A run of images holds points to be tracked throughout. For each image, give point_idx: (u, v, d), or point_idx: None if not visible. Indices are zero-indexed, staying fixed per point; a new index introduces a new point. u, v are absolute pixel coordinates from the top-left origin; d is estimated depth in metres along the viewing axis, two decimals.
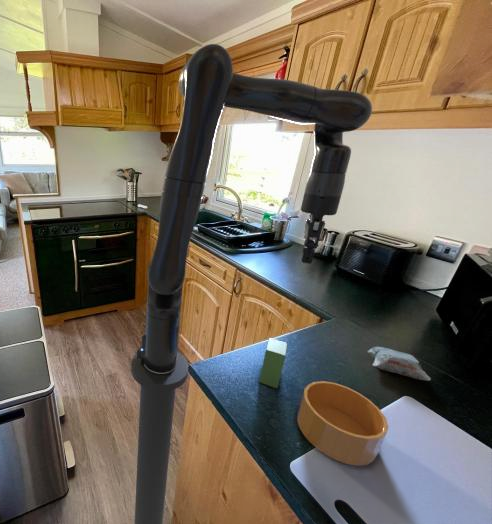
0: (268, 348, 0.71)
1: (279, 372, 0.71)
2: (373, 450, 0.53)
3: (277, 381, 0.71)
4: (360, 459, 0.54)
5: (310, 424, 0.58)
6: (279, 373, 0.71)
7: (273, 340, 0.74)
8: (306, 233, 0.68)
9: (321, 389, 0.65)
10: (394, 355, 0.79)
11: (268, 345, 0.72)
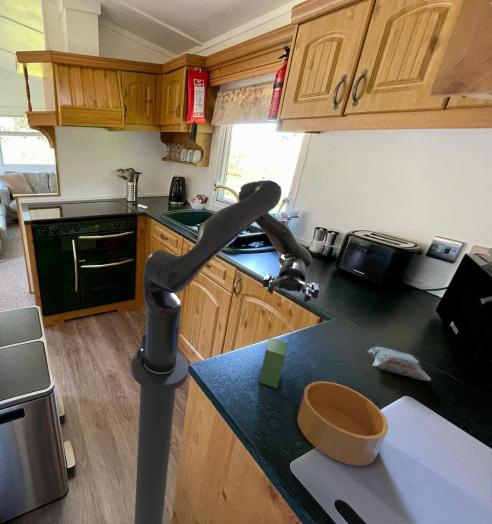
0: (268, 348, 0.71)
1: (279, 372, 0.71)
2: (373, 450, 0.53)
3: (277, 381, 0.71)
4: (360, 459, 0.54)
5: (310, 424, 0.58)
6: (279, 373, 0.71)
7: (273, 340, 0.74)
8: None
9: (321, 389, 0.65)
10: (394, 355, 0.79)
11: (268, 345, 0.72)
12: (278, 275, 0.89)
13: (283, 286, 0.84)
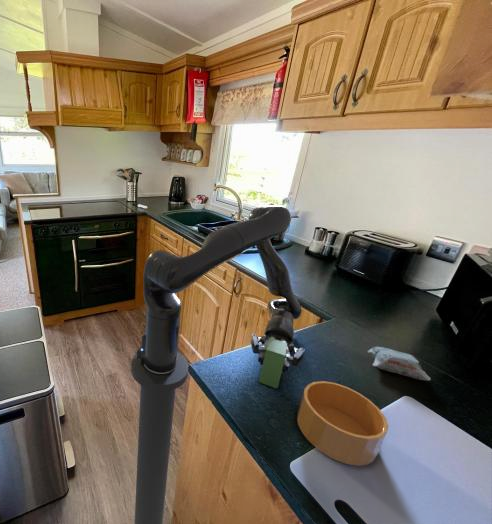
0: (268, 348, 0.71)
1: (279, 372, 0.71)
2: (373, 450, 0.53)
3: (277, 381, 0.71)
4: (360, 459, 0.54)
5: (310, 424, 0.58)
6: (279, 373, 0.71)
7: (273, 340, 0.74)
8: None
9: (321, 389, 0.65)
10: (394, 355, 0.79)
11: (268, 345, 0.72)
12: (264, 333, 0.83)
13: None
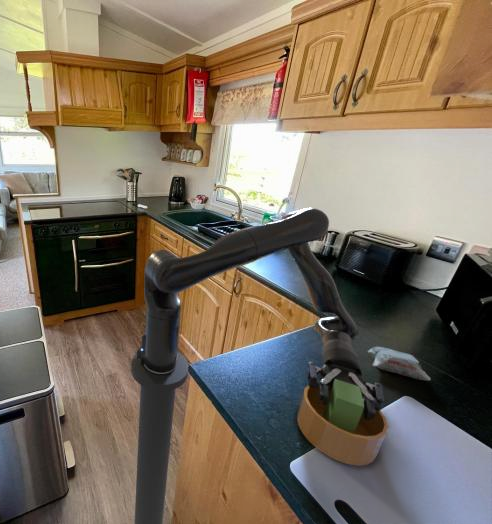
0: (339, 395, 0.56)
1: (353, 426, 0.56)
2: (373, 450, 0.53)
3: None
4: (360, 459, 0.54)
5: (310, 424, 0.58)
6: (353, 427, 0.56)
7: (341, 383, 0.60)
8: None
9: None
10: (394, 355, 0.79)
11: (337, 391, 0.57)
12: (323, 363, 0.68)
13: None
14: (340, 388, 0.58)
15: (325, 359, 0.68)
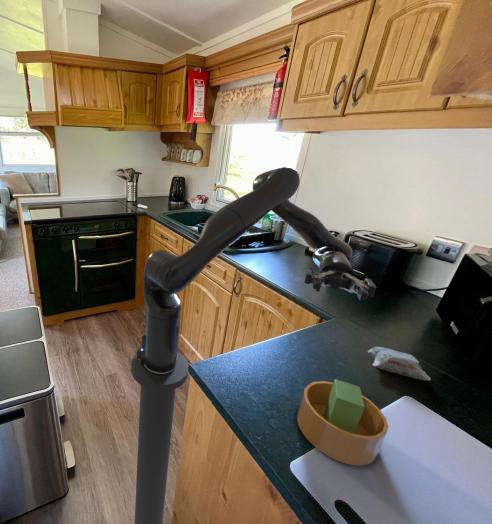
0: (339, 395, 0.56)
1: (353, 426, 0.56)
2: (373, 450, 0.53)
3: None
4: (360, 459, 0.54)
5: (310, 424, 0.58)
6: (353, 427, 0.56)
7: (341, 383, 0.60)
8: None
9: (321, 389, 0.65)
10: (394, 355, 0.79)
11: (338, 391, 0.57)
12: (320, 270, 0.77)
13: (329, 282, 0.72)
14: (340, 388, 0.58)
15: (322, 267, 0.77)
